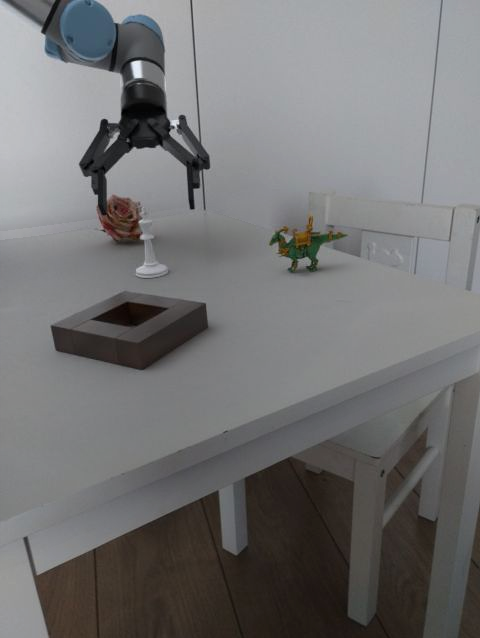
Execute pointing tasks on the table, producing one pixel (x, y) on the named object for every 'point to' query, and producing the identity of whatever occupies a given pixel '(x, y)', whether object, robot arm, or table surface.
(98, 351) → the hollow square frame
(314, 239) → the figurine
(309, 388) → the table surface
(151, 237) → the chess piece
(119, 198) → the flower
